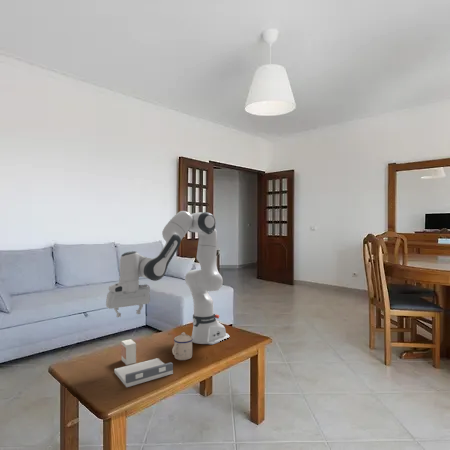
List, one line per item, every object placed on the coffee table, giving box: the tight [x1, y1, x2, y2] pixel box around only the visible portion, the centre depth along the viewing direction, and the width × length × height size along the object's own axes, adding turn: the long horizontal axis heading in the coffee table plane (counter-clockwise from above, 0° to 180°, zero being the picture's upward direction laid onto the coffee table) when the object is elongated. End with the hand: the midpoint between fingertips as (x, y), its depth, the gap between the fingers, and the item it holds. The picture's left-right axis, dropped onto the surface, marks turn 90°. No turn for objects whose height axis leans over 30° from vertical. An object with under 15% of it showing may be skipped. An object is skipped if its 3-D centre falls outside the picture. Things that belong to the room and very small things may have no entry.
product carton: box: [120, 339, 137, 366], centre depth 149 cm, size 7×5×9 cm
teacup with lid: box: [171, 331, 193, 361], centre depth 153 cm, size 12×9×12 cm
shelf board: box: [114, 357, 174, 388], centre depth 136 cm, size 20×16×4 cm
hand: (128, 315), depth 149 cm, fingers open, 8 cm apart
